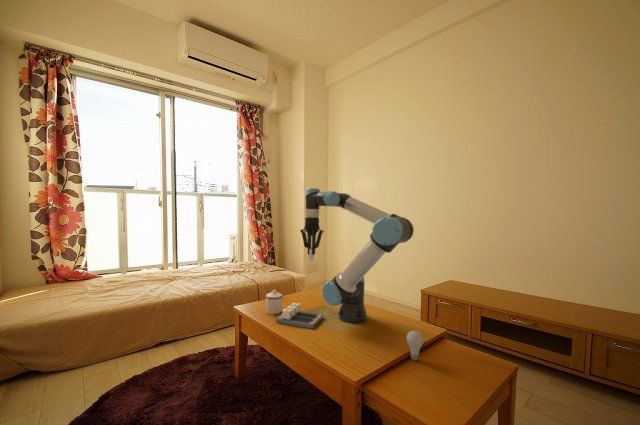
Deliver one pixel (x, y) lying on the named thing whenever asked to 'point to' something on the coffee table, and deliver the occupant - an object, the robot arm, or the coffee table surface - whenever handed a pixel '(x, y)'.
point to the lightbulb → (415, 343)
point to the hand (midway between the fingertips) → (311, 260)
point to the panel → (302, 319)
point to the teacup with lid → (273, 302)
